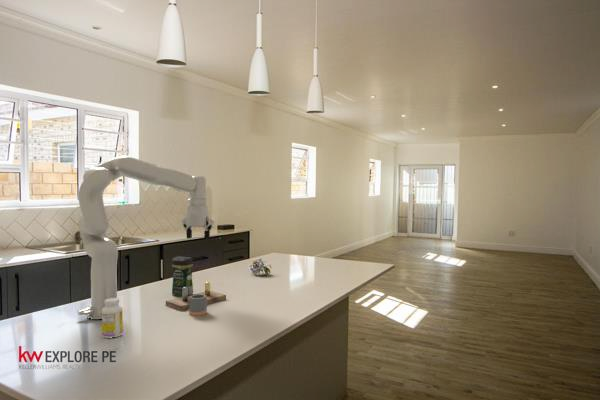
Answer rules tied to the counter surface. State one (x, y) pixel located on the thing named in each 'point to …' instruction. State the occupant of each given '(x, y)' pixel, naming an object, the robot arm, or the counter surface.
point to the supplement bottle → (112, 318)
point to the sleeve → (197, 305)
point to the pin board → (184, 305)
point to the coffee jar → (182, 275)
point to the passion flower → (259, 267)
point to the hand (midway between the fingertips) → (198, 238)
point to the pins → (185, 291)
